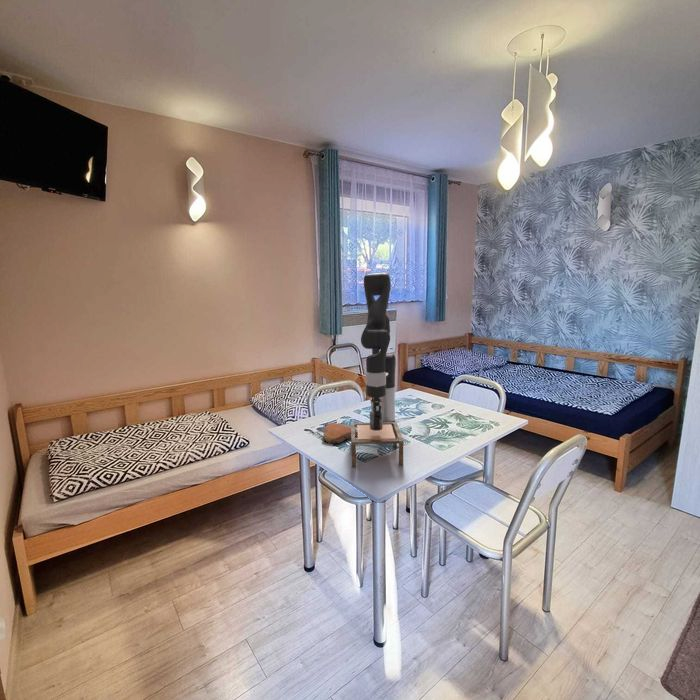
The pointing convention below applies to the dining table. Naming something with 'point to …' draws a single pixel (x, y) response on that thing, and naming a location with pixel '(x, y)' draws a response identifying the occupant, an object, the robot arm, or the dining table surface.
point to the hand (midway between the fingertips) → (376, 425)
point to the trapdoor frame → (377, 441)
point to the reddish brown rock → (337, 433)
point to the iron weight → (373, 422)
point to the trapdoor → (375, 433)
